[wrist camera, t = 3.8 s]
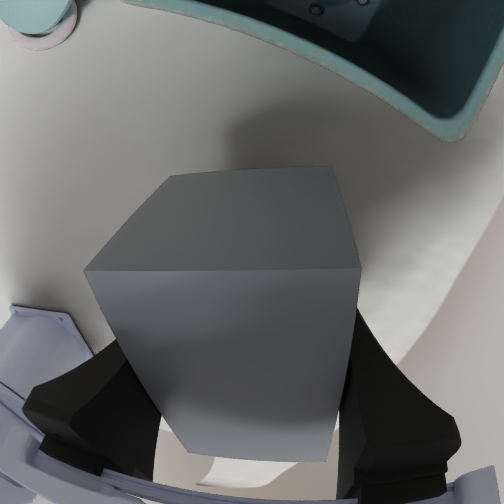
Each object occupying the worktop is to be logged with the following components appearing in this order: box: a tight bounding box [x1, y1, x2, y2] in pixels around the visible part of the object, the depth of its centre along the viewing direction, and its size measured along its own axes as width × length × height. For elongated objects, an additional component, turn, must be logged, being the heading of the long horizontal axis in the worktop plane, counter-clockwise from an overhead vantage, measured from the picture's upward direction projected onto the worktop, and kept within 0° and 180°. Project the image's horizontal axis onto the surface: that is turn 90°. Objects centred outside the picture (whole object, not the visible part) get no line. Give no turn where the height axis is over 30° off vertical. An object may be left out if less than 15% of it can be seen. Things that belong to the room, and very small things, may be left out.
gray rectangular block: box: [84, 166, 361, 462], centre depth 12 cm, size 6×10×6 cm, turn 6°
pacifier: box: [0, 0, 77, 50], centre depth 9 cm, size 7×6×6 cm
